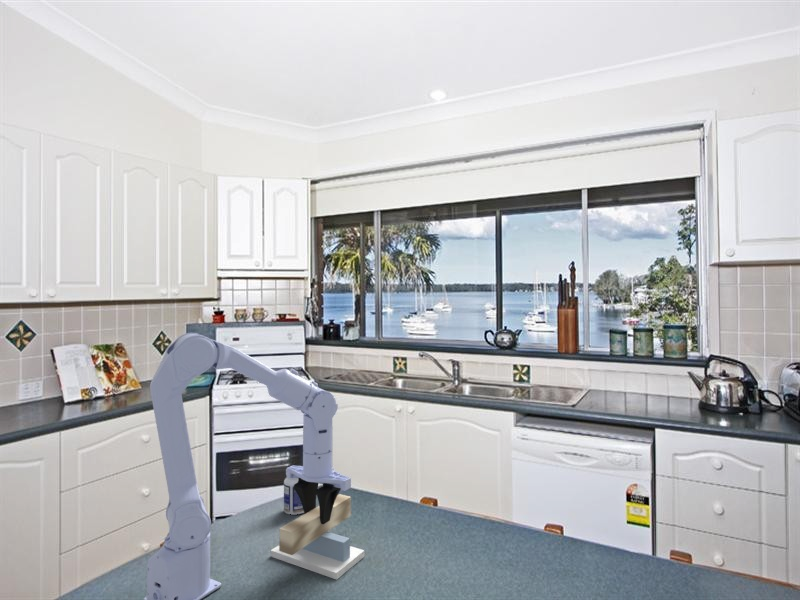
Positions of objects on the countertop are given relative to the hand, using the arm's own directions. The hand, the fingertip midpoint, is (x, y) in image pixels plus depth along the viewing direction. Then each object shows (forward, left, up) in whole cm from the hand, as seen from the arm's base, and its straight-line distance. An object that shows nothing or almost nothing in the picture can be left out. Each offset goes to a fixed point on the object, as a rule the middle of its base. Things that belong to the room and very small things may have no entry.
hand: (317, 519), depth 93 cm
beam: (0, 0, -2) cm, 2 cm away
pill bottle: (+14, +18, -7) cm, 24 cm away
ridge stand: (0, 0, -7) cm, 7 cm away
